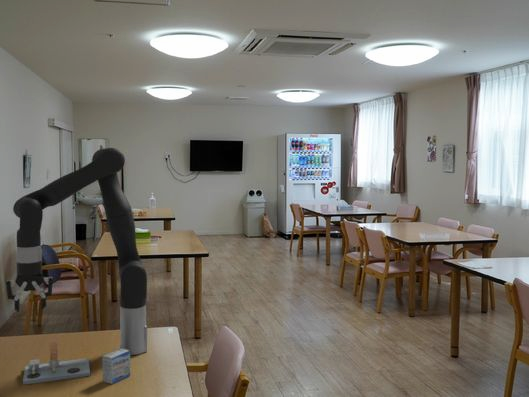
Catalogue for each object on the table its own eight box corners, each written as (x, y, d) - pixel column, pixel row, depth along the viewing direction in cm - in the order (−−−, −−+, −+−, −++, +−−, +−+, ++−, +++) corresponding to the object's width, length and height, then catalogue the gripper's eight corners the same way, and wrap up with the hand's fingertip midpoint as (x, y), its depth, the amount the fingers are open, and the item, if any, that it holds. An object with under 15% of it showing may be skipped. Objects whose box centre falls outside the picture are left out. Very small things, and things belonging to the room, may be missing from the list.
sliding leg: (59, 363, 173) (58, 338, 173) (58, 371, 167) (58, 345, 166) (49, 364, 172) (48, 339, 172) (48, 373, 166) (48, 346, 165)
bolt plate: (88, 361, 179) (88, 356, 179) (90, 375, 168) (89, 369, 168) (25, 369, 172) (25, 363, 172) (22, 384, 161) (22, 378, 161)
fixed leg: (39, 366, 171) (39, 359, 171) (38, 374, 165) (38, 367, 165) (29, 367, 170) (29, 360, 170) (28, 376, 164) (28, 368, 164)
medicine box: (111, 385, 162) (111, 358, 161) (102, 381, 164) (101, 355, 164) (130, 375, 169) (130, 350, 168) (121, 372, 171) (120, 347, 170)
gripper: (53, 256, 171) (54, 304, 173) (5, 258, 166) (7, 308, 168) (53, 260, 164) (54, 311, 166) (3, 263, 159) (4, 315, 161)
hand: (30, 309), depth 167 cm, fingers open, 6 cm apart
